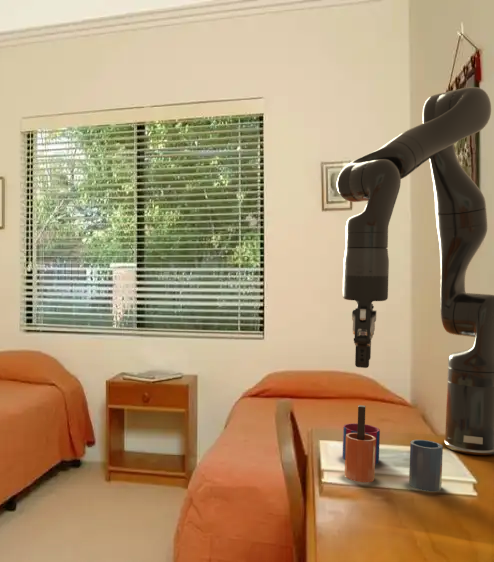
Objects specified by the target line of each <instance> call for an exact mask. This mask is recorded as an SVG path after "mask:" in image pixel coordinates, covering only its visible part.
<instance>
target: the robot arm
mask: <svg viewBox="0 0 494 562" xmlns="http://www.w3.org/2000/svg"><path fill="white" fill-rule="evenodd" d="M491 115H492V103H491V100H490V96H489V95H488V93H487V92H486V91H485V90H484V89H483V88H481V87H477V86H469V87H468V86H467V87H462V88H459V89H454V90H449V91H445V92H440V93H437V94H433V95H430V96H428V98H427V99H426V100H425V102H424V104H423V108H422V117H421V118H422V123H421V124H419V125H416V126H414V127H411V128H409V129H407V130H405V131H403V132H402V133H401V132H400V134H398V135H396V136H395V137H393V138H392V139H391V140H390V141H389V140H388V142H387V143H385V144H384V145H382V146H381V147H380V148H378V149H377V150H374V151H372V152H369V153H367V154H364V155H362V156H360V157H359V158H357V159H354V160H352V161H351V162H349V163H348V164H346V165H345V166H344V167H343V168H342V169H341V170H340V172H339V174H338V176H337V178H336V179H337V180H336V189H337V192H338V194H339V196H340V197H341V198H342V199H343V200H345V201H347V202H351V203H362V202H367V203H366V205H365V207H364V209H363V211H362V212H361V213H358V214H355V215H352V216H350V217H349V218H348V219H347V220H346V224H345V243H344V244H345V245H344V246H345V249H344V256H343V263H342V265H343V266H342V268H343V269H342V298H343V299H344V300H346V301H355V302H356V308H355V309H352V311H351V319H352V320H351V321H352V334H353V336H354V337H353V344H354V346H355V352H354V353H355V354H354V356H355V358H354V366H355V367H356V368H362V369H367V368H369V366H370V360H371V357H372V356H371V355H372V339H373V337H374V335H375V329H376V321H377V310H375V309H374V308H375V307H374V304H373V302H384V301H387V300H388V299H389V273H390V272H389V271H390V259H389V251H388V247H389V225H390V222H391V218H392V216H393V212H394V208H395V205H396V202H397V200H398V196H399V193H400V189H401V181H402V180H403V179H404V178H406V177H407V176H409V175H411V173H413V172H414V171H415V170H417V169H418V168H419V167H420V166H421V165H423V164H424V163H426V162H427V161H428V160H429V165H430V171H431V172H430V173H431V179H432V188H433V200H434V217H435V228H436V236H437V245H438V256H439V268H440V270H439V272H440V276H439V277H440V279H439V280H440V281H439V282H440V284H439V286H440V287H439V289H440V292H439V293H440V296H439V297H440V301H439V304H440V305H439V306H440V307H439V309H440V312H439V313H440V320H441V324H442V327H443V329H444V331H446V332H447V334H450V335H455V336H462V337H470V338H474V343H473V345H472V346H471V347H469V348H468V349H465V350H461V351H455V352H452V353H449V355H448V358H447V379H446V380H447V381H446V382H447V384H446V407H445V408H446V411H445V432H444V433H445V434H444V435H445V436H444V446H445V447H446V448H447V449H449V450H452V451H454V452H458V453H462V454H466V455H471V456H472V455H473V456H492V455H494V294H488V293H470V292H466V283H465V282H466V276H467V275H466V274H467V270H468V268H469V265H470V264H471V262H472V260H473V258H474V257H475V255H476V254H477V252H478V251H479V249H480V247H481V245H482V244H483V242H484V241H485V238H486V236H487V233H488V215H487V214H488V213H487V204H486V203H487V202H486V198H485V196H484V194H483V192H482V190H481V189H480V188H479V186H478V185H477V184H476V182H475V181H474V180H473V178H471V176H469V174H468V173H467V172H466V170H465V169H464V168H463V167H462V165H461V164H460V161H459V160H458V157H457V153H456V149H455V144H456V143H458V142H460V141H461V140H463V139H465V138H469V137H470V136H473V135H474V134H477V133H479V132H481V131H482V130H483V129H484V128H486V126H487V125H488V124H489V121H490V118H491Z"/></svg>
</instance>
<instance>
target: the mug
mask: <svg viewBox="0 0 494 562" xmlns="http://www.w3.org/2000/svg"><path fill="white" fill-rule="evenodd" d="M342 429H343V430H342V459H343V460H344V461H345V446H346V434H348V433H357V429H358V422H357V423H355V422H354V423H351V422H350V423H345V424H344V425H343V428H342ZM365 434H368V435H371V436H374V437H375V438H376V448H375V465H377V464H379V463H380V438H381V430H380V428H379V427H377V426H374V425H371V424H366V423H365Z"/></svg>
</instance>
